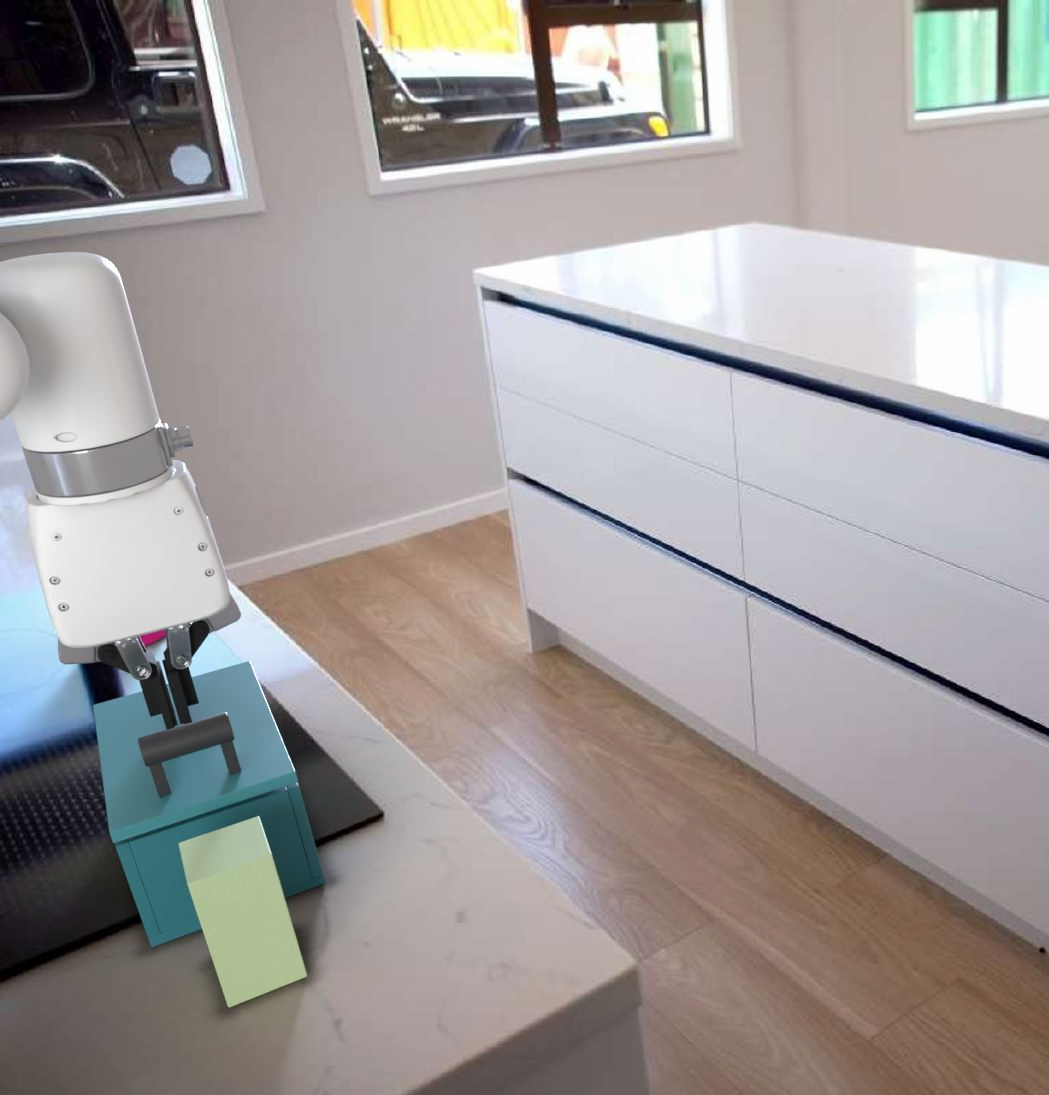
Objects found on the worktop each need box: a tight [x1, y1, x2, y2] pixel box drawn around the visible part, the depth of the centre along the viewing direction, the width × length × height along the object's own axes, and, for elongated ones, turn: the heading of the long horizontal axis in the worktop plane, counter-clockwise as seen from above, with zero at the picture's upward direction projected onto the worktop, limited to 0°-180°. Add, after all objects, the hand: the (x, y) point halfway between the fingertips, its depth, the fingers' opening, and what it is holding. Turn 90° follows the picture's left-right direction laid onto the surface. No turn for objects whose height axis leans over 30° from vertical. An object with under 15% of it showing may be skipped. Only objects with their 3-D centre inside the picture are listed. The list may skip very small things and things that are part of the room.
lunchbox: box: [114, 781, 326, 948], centre depth 85 cm, size 18×10×8 cm, turn 31°
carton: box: [179, 816, 308, 1008], centre depth 73 cm, size 4×4×9 cm
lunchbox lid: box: [92, 660, 299, 844], centre depth 82 cm, size 18×10×5 cm, turn 31°
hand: (177, 717), depth 84 cm, fingers closed
